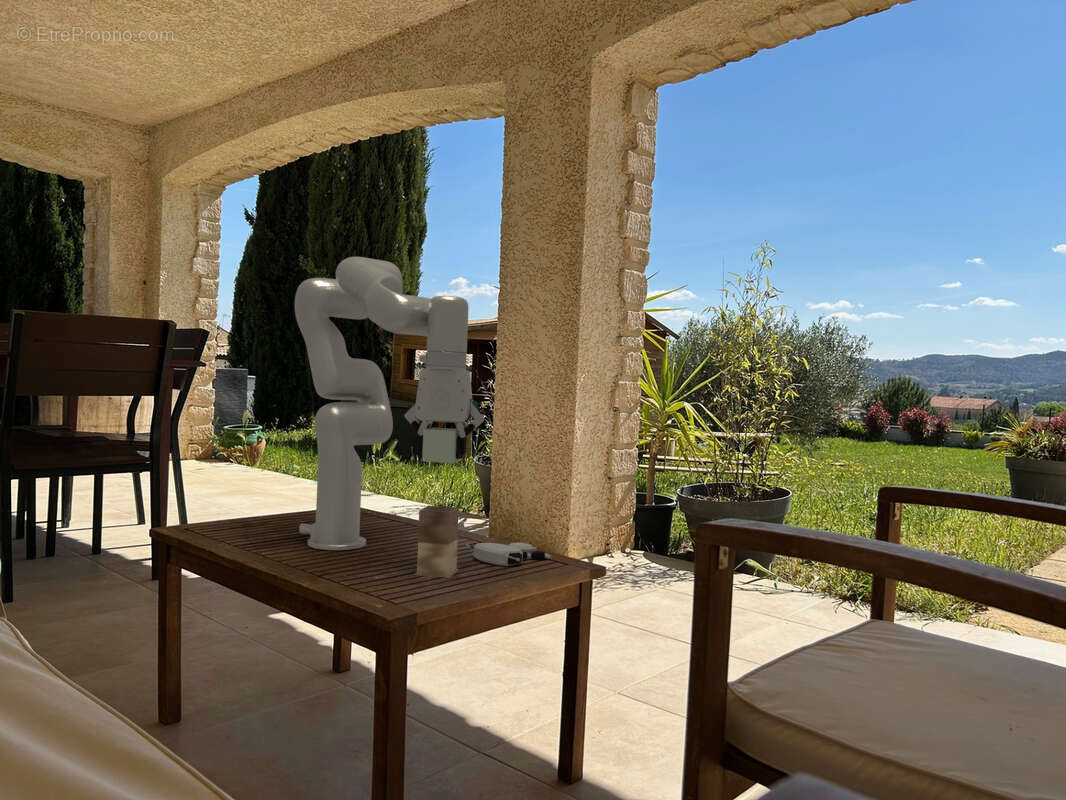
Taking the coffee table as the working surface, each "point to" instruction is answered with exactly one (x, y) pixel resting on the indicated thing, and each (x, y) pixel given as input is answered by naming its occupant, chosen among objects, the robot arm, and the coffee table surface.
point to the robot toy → (506, 553)
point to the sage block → (440, 445)
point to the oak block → (437, 559)
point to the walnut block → (438, 525)
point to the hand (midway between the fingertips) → (442, 456)
